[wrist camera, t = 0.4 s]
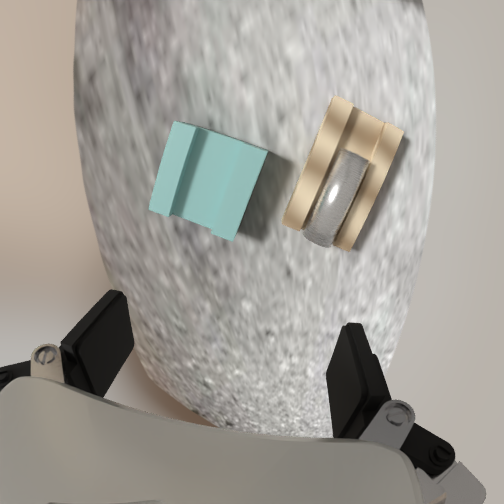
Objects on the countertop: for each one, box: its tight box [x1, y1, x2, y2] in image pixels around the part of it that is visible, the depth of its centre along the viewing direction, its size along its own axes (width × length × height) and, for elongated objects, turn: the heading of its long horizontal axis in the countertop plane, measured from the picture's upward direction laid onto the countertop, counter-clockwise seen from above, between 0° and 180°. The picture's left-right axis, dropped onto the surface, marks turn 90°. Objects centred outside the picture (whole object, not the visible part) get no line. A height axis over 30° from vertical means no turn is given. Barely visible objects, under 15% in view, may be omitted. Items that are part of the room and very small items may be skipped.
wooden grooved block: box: [282, 95, 404, 252], centre depth 34 cm, size 18×10×2 cm, turn 159°
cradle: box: [149, 121, 268, 242], centre depth 35 cm, size 12×12×4 cm
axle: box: [303, 148, 370, 247], centre depth 34 cm, size 12×4×4 cm, turn 159°
